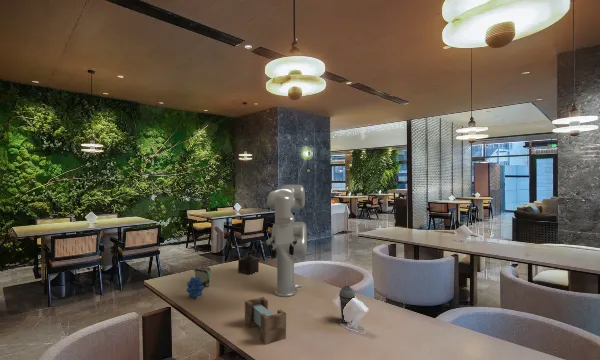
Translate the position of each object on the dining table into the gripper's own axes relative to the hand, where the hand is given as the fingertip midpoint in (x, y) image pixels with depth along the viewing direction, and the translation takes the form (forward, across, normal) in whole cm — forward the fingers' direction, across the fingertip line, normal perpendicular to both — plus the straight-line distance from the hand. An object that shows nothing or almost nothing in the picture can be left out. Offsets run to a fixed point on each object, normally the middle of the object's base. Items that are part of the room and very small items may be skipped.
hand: (282, 255), depth 153 cm
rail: (+24, +16, +15) cm, 33 cm away
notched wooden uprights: (+26, +17, +15) cm, 34 cm away
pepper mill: (+30, -11, -67) cm, 75 cm away
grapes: (+28, +32, -38) cm, 57 cm away
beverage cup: (+26, -20, +25) cm, 42 cm away
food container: (+29, +22, -58) cm, 68 cm away
